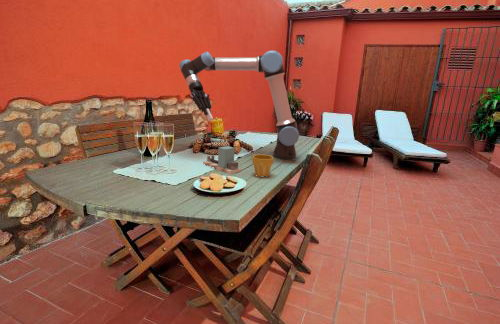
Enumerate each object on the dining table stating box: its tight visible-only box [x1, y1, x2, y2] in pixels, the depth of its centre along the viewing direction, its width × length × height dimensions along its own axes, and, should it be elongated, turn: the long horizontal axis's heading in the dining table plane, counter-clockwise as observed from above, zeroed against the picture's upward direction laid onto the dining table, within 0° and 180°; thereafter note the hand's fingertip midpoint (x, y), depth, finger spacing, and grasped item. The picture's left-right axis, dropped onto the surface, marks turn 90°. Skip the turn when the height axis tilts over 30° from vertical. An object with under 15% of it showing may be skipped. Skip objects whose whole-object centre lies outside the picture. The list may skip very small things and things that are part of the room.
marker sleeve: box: [217, 145, 235, 168], centre depth 147 cm, size 5×7×10 cm
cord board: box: [202, 155, 242, 175], centre depth 151 cm, size 22×8×5 cm, turn 46°
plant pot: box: [252, 153, 274, 177], centre depth 141 cm, size 10×10×10 cm
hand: (210, 119), depth 156 cm, fingers closed
